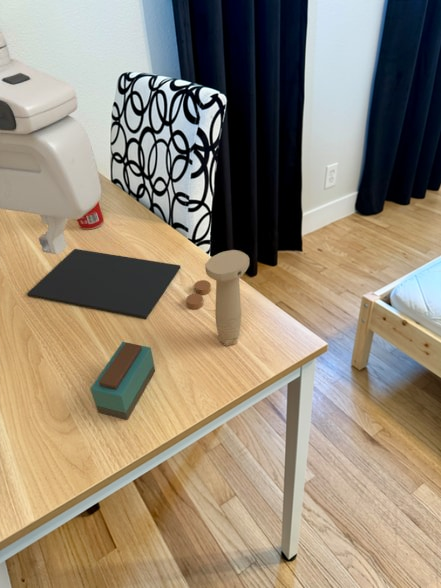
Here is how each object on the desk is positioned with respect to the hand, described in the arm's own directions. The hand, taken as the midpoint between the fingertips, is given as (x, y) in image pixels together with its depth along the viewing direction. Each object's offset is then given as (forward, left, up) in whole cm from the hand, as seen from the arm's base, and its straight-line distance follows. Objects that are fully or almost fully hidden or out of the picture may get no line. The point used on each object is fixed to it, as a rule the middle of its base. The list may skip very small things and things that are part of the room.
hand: (14, 243), depth 42 cm
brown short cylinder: (+8, +26, -27) cm, 38 cm away
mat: (-11, +28, -27) cm, 40 cm away
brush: (+5, +5, -27) cm, 28 cm away
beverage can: (-26, +47, -27) cm, 60 cm away
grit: (+8, +30, -27) cm, 41 cm away
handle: (+16, +19, -27) cm, 36 cm away
